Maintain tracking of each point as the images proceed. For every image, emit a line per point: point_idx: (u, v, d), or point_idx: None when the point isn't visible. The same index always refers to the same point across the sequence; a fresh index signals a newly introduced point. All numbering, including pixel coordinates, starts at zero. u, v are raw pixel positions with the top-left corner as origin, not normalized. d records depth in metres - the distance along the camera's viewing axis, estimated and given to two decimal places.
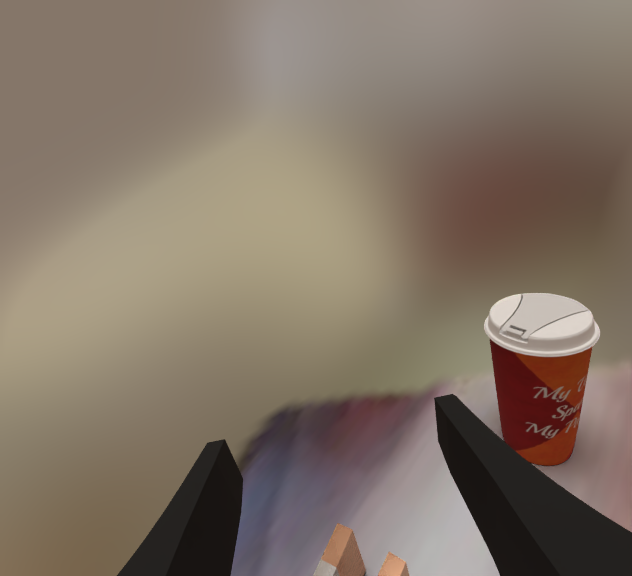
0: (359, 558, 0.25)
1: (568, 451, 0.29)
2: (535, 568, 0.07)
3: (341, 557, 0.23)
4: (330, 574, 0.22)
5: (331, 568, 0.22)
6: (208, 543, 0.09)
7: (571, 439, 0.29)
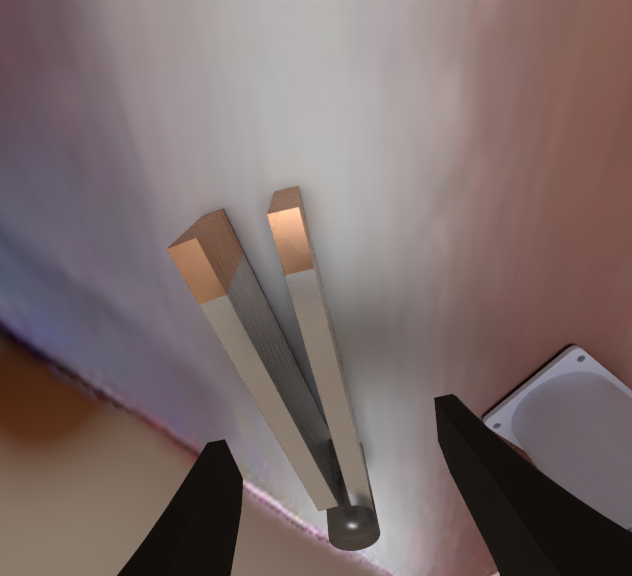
0: (216, 222, 0.16)
1: None
2: (535, 568, 0.07)
3: (219, 279, 0.14)
4: (227, 306, 0.14)
5: (222, 301, 0.14)
6: (208, 543, 0.09)
7: None
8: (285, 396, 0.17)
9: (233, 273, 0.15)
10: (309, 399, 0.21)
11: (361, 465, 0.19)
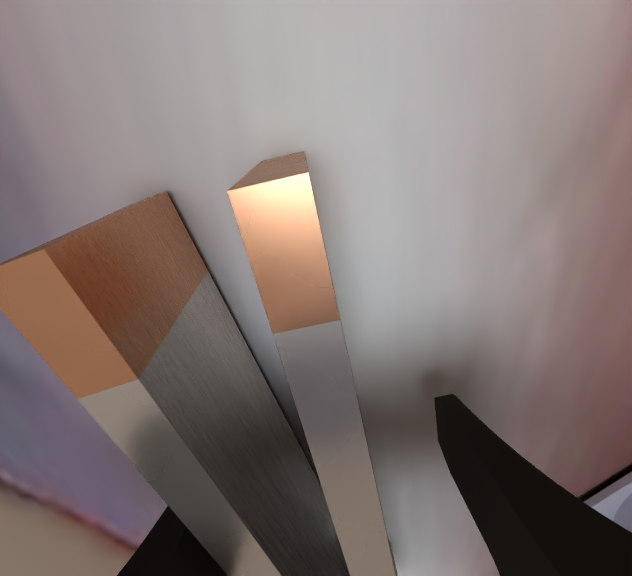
0: (141, 215, 0.08)
1: None
2: (535, 568, 0.07)
3: (119, 344, 0.06)
4: (144, 402, 0.06)
5: (130, 392, 0.06)
6: None
7: None
8: (276, 539, 0.09)
9: (173, 317, 0.08)
10: (316, 496, 0.14)
11: None
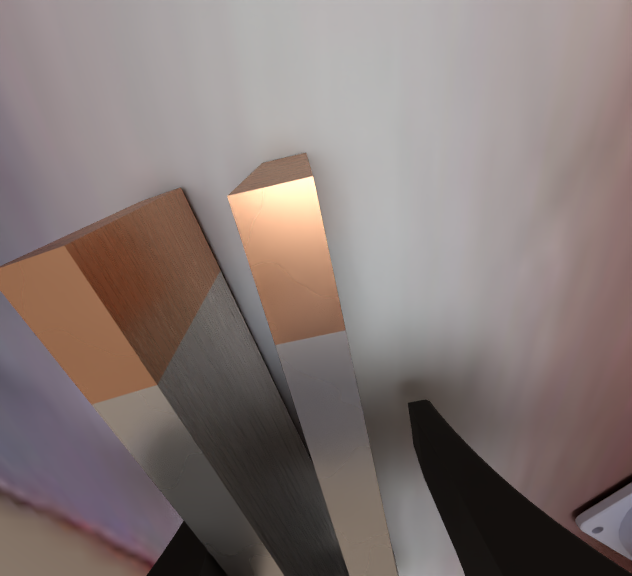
0: (158, 211, 0.07)
1: None
2: None
3: (138, 347, 0.05)
4: (162, 409, 0.06)
5: (147, 398, 0.06)
6: None
7: None
8: (287, 550, 0.09)
9: (189, 318, 0.07)
10: (322, 502, 0.13)
11: None
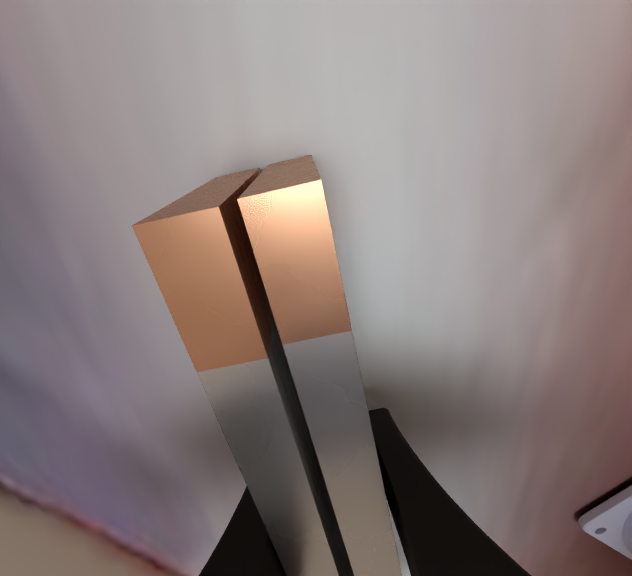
0: None
1: None
2: None
3: (256, 317, 0.05)
4: (265, 383, 0.06)
5: (254, 370, 0.06)
6: None
7: None
8: (333, 539, 0.09)
9: None
10: None
11: None
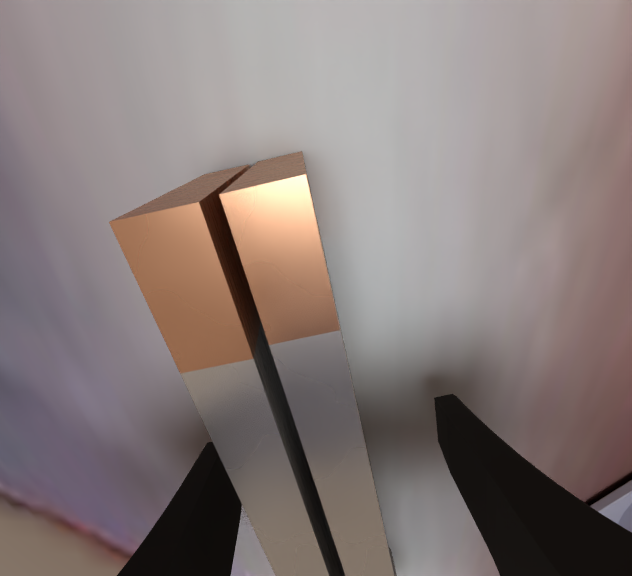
0: None
1: None
2: (535, 568, 0.07)
3: (241, 317, 0.05)
4: (251, 384, 0.06)
5: (240, 371, 0.06)
6: (208, 543, 0.09)
7: None
8: (325, 541, 0.09)
9: None
10: None
11: None
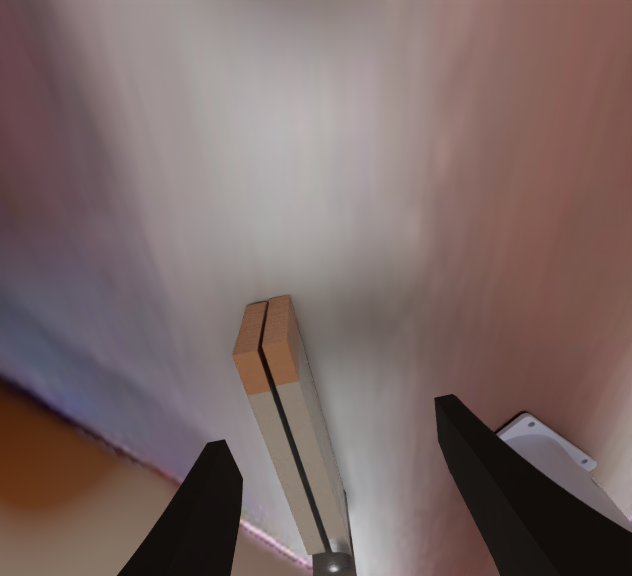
0: (264, 321, 0.19)
1: None
2: (535, 568, 0.07)
3: (267, 378, 0.17)
4: (270, 399, 0.17)
5: (266, 395, 0.17)
6: (208, 543, 0.09)
7: None
8: (298, 463, 0.20)
9: None
10: None
11: (340, 521, 0.22)
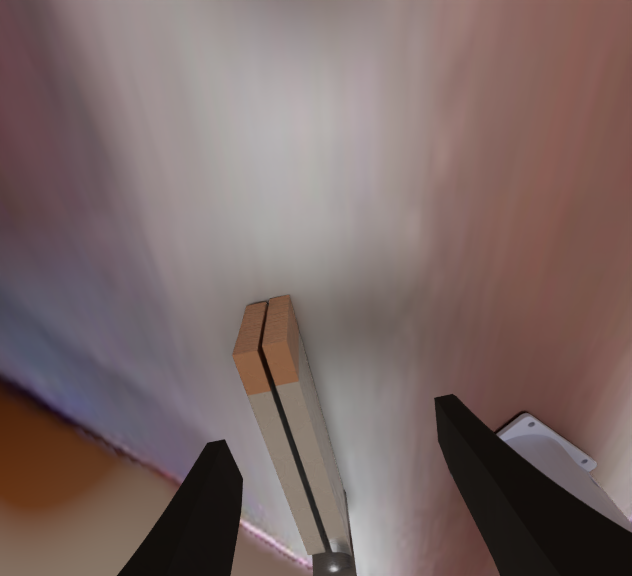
0: (264, 321, 0.19)
1: None
2: (535, 568, 0.07)
3: (267, 378, 0.17)
4: (270, 399, 0.17)
5: (266, 395, 0.17)
6: (208, 543, 0.09)
7: None
8: (298, 463, 0.20)
9: None
10: None
11: (340, 521, 0.22)
